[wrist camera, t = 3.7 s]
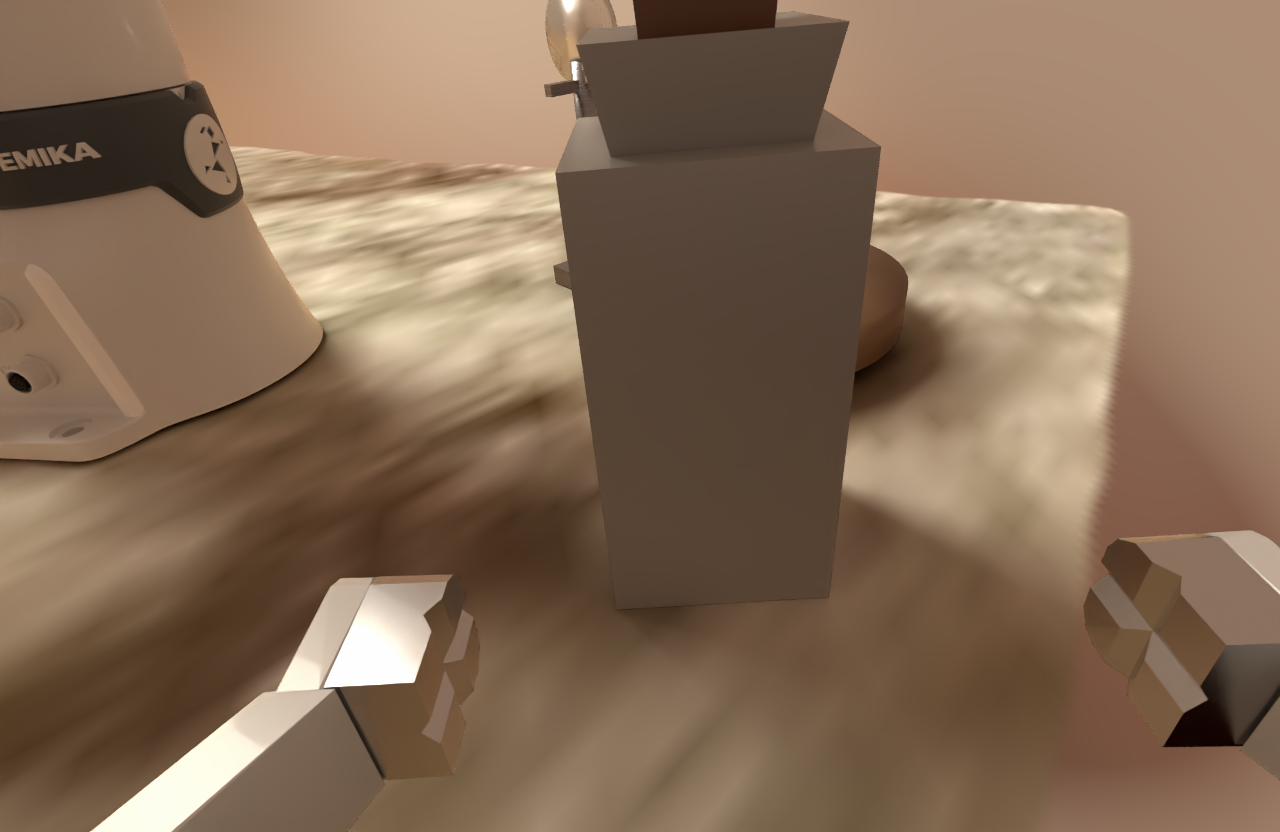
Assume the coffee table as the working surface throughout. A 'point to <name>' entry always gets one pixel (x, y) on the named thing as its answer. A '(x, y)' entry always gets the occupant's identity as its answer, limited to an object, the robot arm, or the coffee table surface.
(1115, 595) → the robot arm
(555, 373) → the coffee table surface
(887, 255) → the turntable
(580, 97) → the dial indicator
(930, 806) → the coffee table surface
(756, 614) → the coffee table surface
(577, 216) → the perfume bottle
